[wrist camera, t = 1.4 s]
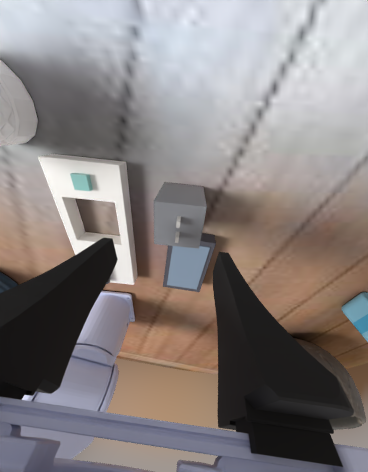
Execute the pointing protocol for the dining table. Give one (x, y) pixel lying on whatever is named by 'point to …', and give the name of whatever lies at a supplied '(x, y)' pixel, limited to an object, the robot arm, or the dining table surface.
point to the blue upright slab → (358, 313)
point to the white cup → (15, 110)
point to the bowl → (345, 382)
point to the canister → (6, 283)
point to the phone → (188, 264)
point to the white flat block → (93, 188)
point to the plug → (179, 215)
